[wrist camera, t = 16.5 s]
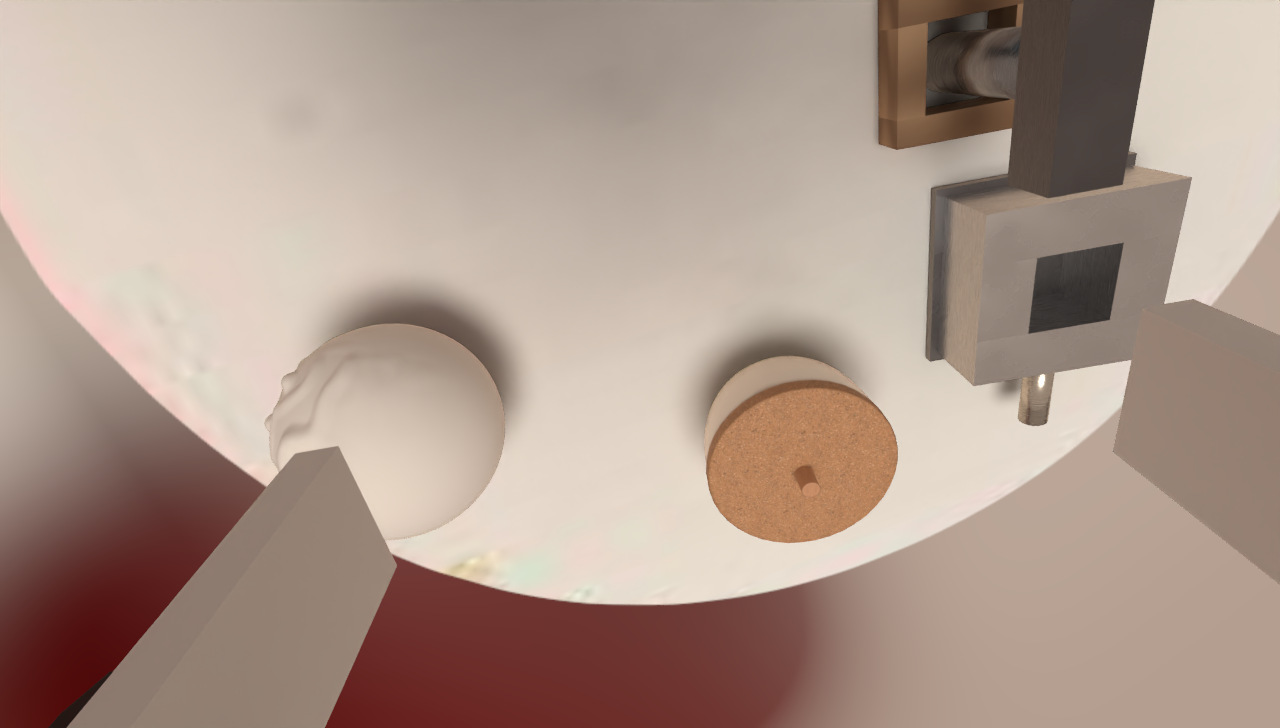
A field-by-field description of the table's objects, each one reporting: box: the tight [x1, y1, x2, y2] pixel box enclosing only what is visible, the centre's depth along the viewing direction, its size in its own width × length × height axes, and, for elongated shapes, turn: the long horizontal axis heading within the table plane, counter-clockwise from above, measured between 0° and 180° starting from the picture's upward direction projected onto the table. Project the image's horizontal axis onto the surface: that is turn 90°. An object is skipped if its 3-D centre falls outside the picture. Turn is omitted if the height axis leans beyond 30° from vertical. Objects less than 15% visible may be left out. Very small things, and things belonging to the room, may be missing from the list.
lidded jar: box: [705, 356, 898, 543], centre depth 37 cm, size 11×11×9 cm
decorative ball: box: [265, 323, 505, 540], centre depth 34 cm, size 12×12×12 cm
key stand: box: [878, 0, 1024, 150], centre depth 31 cm, size 7×7×2 cm
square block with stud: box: [926, 152, 1192, 426], centre depth 36 cm, size 15×11×5 cm
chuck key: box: [926, 0, 1155, 198], centre depth 27 cm, size 9×3×12 cm, turn 10°
